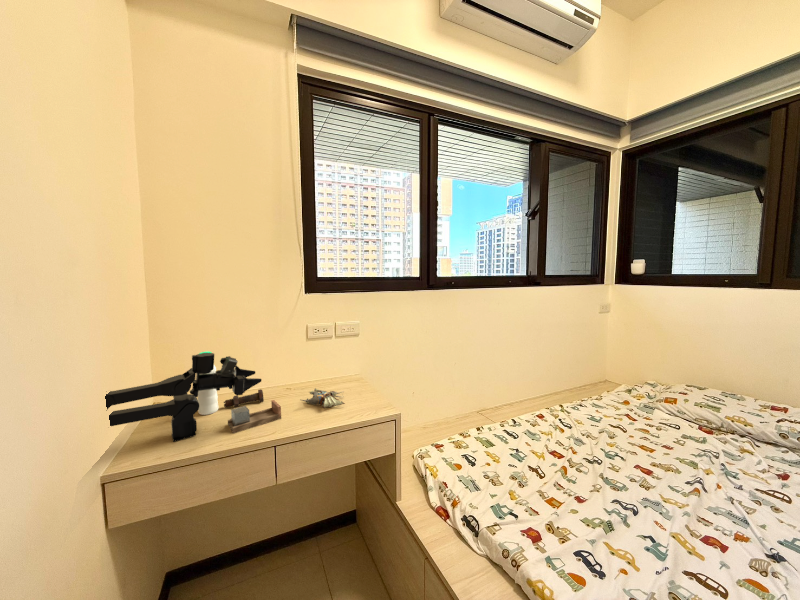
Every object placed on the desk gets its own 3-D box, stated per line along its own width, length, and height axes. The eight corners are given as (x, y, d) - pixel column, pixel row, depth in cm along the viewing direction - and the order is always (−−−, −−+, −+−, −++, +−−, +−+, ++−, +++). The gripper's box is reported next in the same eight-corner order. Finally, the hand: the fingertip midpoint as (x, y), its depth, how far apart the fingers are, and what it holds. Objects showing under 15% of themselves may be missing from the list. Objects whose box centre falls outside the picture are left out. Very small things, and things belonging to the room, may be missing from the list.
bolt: (224, 412, 130) (263, 403, 138) (224, 410, 126) (264, 401, 133) (223, 398, 132) (261, 390, 139) (223, 396, 128) (262, 387, 135)
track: (233, 433, 109) (232, 420, 108) (228, 425, 115) (227, 412, 114) (281, 418, 120) (280, 406, 119) (274, 411, 126) (273, 399, 125)
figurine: (331, 382, 145) (356, 391, 135) (331, 395, 146) (356, 404, 135) (294, 392, 129) (320, 403, 119) (294, 406, 130) (319, 418, 119)
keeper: (235, 427, 110) (234, 414, 110) (231, 422, 114) (231, 409, 114) (249, 422, 114) (249, 410, 113) (246, 418, 117) (245, 405, 117)
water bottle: (209, 416, 122) (205, 355, 120) (194, 414, 123) (190, 354, 121) (222, 408, 129) (219, 350, 127) (208, 407, 130) (204, 349, 128)
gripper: (218, 367, 104) (266, 363, 114) (210, 352, 118) (253, 350, 128) (216, 399, 105) (264, 392, 115) (208, 380, 119) (251, 375, 129)
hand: (258, 376), depth 122 cm, fingers open, 9 cm apart
